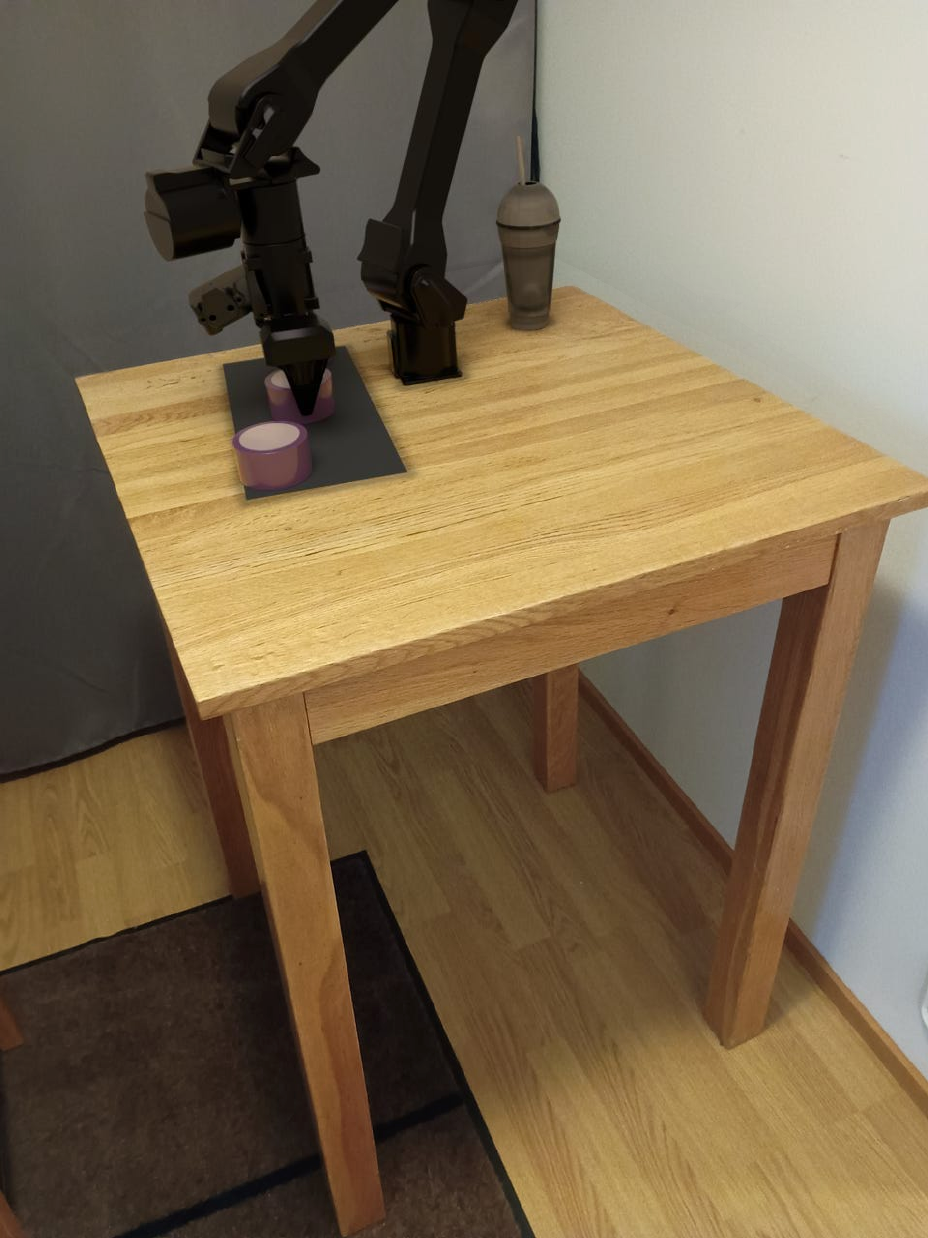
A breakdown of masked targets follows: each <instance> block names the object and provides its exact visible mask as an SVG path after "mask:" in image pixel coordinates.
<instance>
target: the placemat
mask: <svg viewBox="0 0 928 1238" xmlns="http://www.w3.org/2000/svg"><path fill="white" fill-rule="evenodd" d="M335 348H336V355H335V356H334V358H333V360H332V361H331V362H330V363H328V364H327V366H326V369H328V370H329V371H330V372H331V376H332V383H333V389H334V396H335V403H336V410H335V412H334V413H333V414H332V415H330V416H329V417H327V418H325V419H323V420H320V421H317V422H314V423H309V424H301V425H302V426H303V427H305V429H306V430H307V434H308V440H309V446H310V452H311V457H312V463H313V472H312V474H311V475H310V477H309V478H307V479H306V480H305V481H303V482H301V483H300V484H297V485H295V486H292V487H289V488H285V489H280V490H272V491H262V490H255V489H251V488H248V487H246V486H245V485H243V489H244V493H245V494H244V495H245V499H246V500H245V501H251V500H252V501H253V500H256V499H257V500H258V499H261V498H262V499H263V498H269V497H274V496H279V495H285V494H292V493H297V492H303V491H308V490H315V489H319V488H326V487H331V486H336V485H337V486H338V485H342V484H347V483H354V482H358V481H365V480H370V479H376V478H382V477H387V476H393V475H398V474H399V475H400V474H404V473H408V470H407V468H406V466H405V464H404V462H403V460H402V458H401V456H400V454H399V452H398V450H397V448H396V446H395V443H394V441H393V440H392V438H391V436H390V434H389V432H388V430H387V427H386V426H385V423H384V421H383V420H382V417H381V415H380V413H379V411H378V409H377V407H376V405H375V403H374V401H373V399H372V397H371V394H370V393H369V391H368V389H367V387H366V384H365V383H364V381H363V379H362V377H361V374H360V373H359V371H358V367H357V366H356V365H355V362H354V360H353V358H352V357H351V354H350V353H349V350H348V348H347V346H346V345H340V346H335ZM222 367H223V368H222V369H223V371H224V380H225V386H226V391H227V396H228V403H229V407H230V413H231V419H232V420H231V421H232V427H233V431H234V436H235V435H236V434H237V433H238V432H240V431H241V430H243V429H245V428H247V427H249V426H252V425H255V424H259V423H264V422H270V421H275V420H274V419H273V418H272V417H271V413H270V408H269V403H268V398H267V392H266V387H265V379H266V377H267V376H268V375H270V374H271V373H273V372H275V371H277V370H280V369H279V368H277V367H276V366H275V367H271V366H266V363H265V359H264V357H259V358H253V359H246V360H240V361H233V362H227V363H222Z"/></svg>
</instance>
